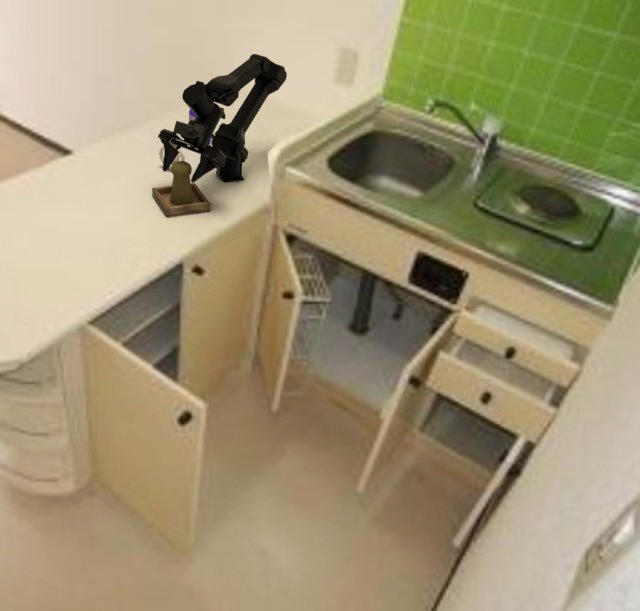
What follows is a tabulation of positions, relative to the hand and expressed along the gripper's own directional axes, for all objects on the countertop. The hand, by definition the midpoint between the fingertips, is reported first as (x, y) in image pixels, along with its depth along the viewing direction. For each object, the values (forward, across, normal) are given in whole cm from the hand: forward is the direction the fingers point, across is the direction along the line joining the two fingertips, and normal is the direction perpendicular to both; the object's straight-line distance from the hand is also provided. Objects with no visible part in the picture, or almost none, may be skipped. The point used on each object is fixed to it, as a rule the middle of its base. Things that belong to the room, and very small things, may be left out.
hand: (177, 176), depth 167 cm
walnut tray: (+5, 0, +7) cm, 9 cm away
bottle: (-20, -21, +32) cm, 44 cm away
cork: (+4, 0, +7) cm, 8 cm away
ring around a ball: (-6, -15, +18) cm, 24 cm away
